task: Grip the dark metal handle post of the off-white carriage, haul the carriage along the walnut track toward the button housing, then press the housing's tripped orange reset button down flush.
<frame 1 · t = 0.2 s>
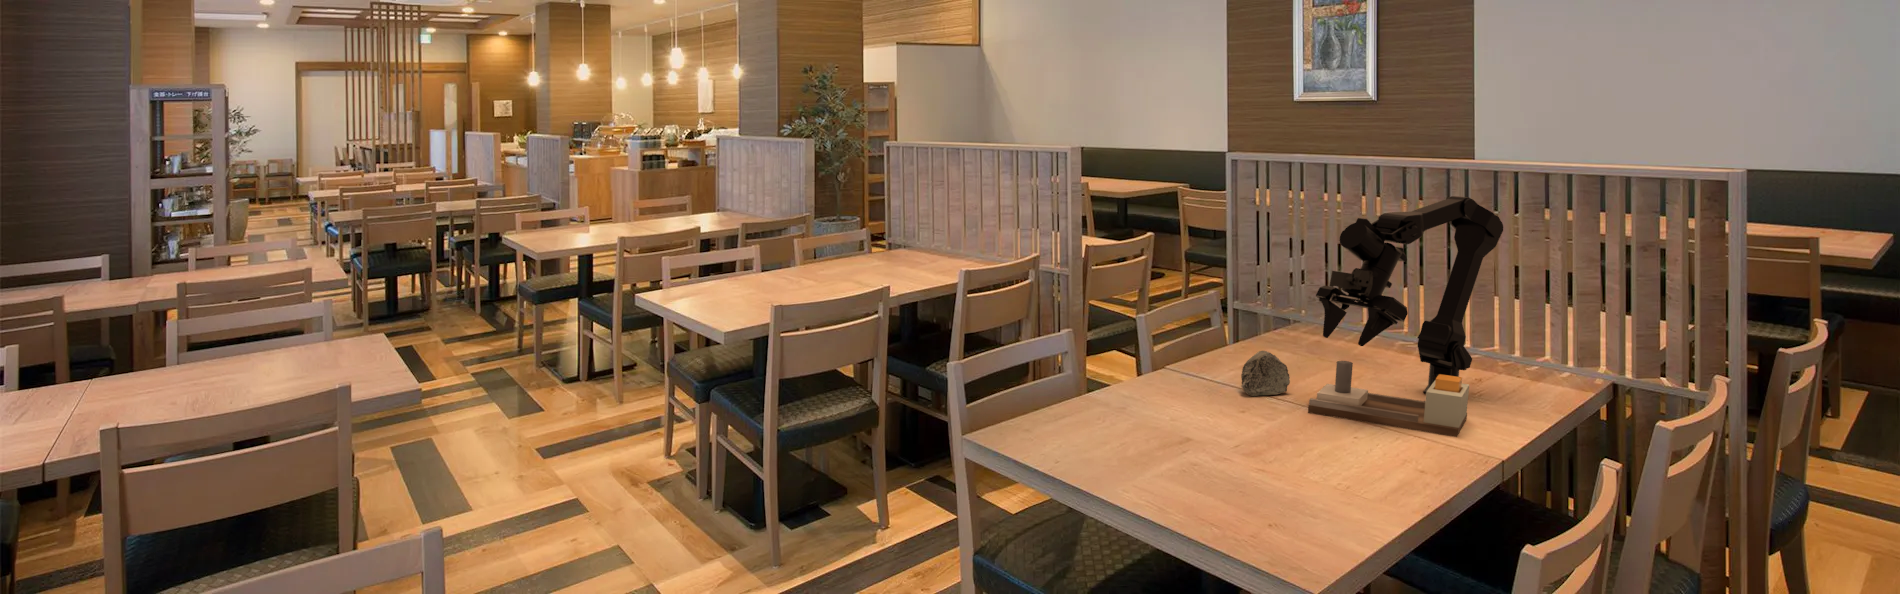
hand: (1342, 341, 193), 15 cm above the table, tool tilted 30°, fingers open, 9 cm apart
track: (1386, 416, 193), on the table
stone: (1263, 392, 211), on the table
reset button: (1447, 390, 186), point 7 cm above the table, slide at 0.0 cm
carriage: (1343, 381, 197), point 6 cm above the table, slide at 0.0 cm
button housing: (1444, 425, 187), resting on track
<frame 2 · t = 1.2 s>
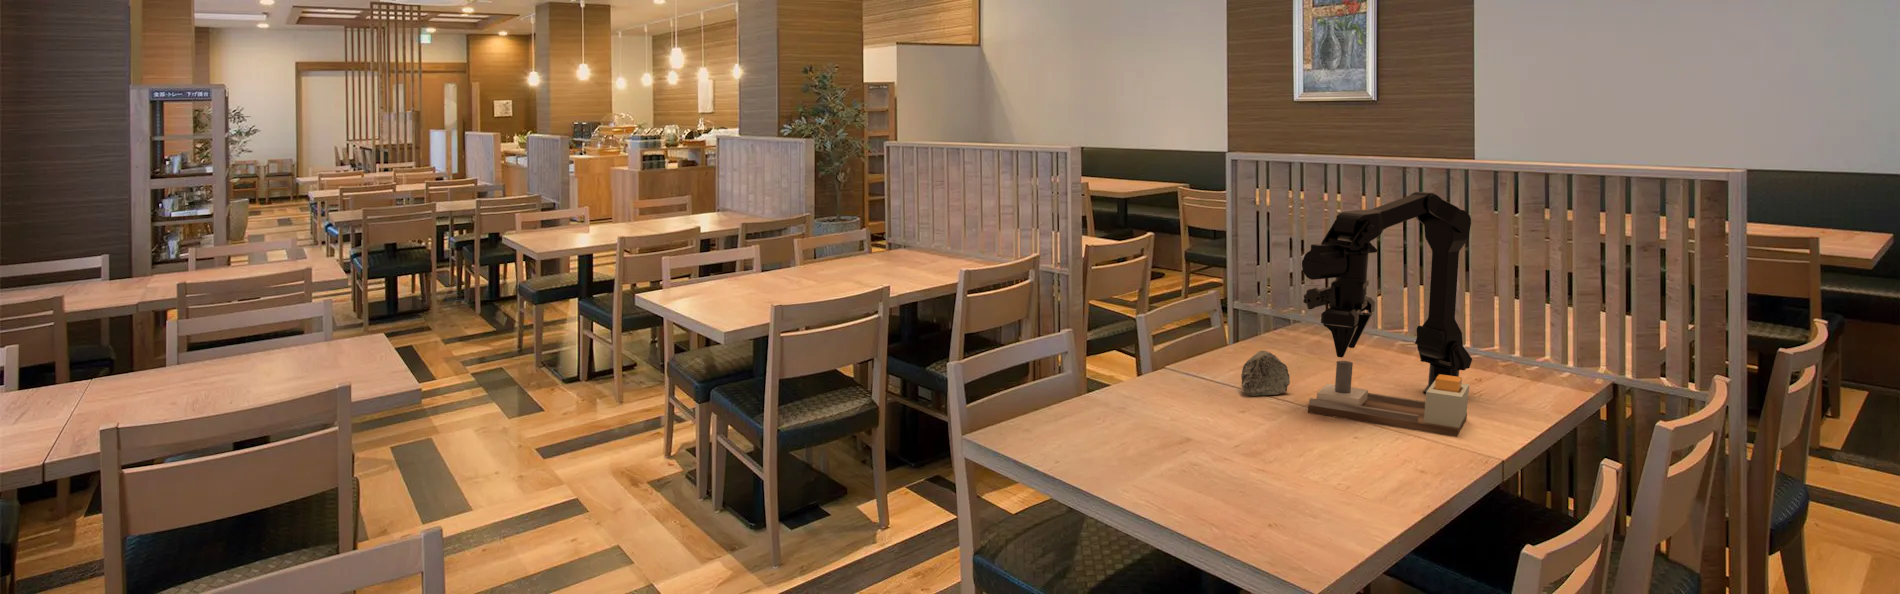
hand: (1345, 352, 196), 12 cm above the table, tool pointing down, fingers open, 9 cm apart
nothing on the table moved.
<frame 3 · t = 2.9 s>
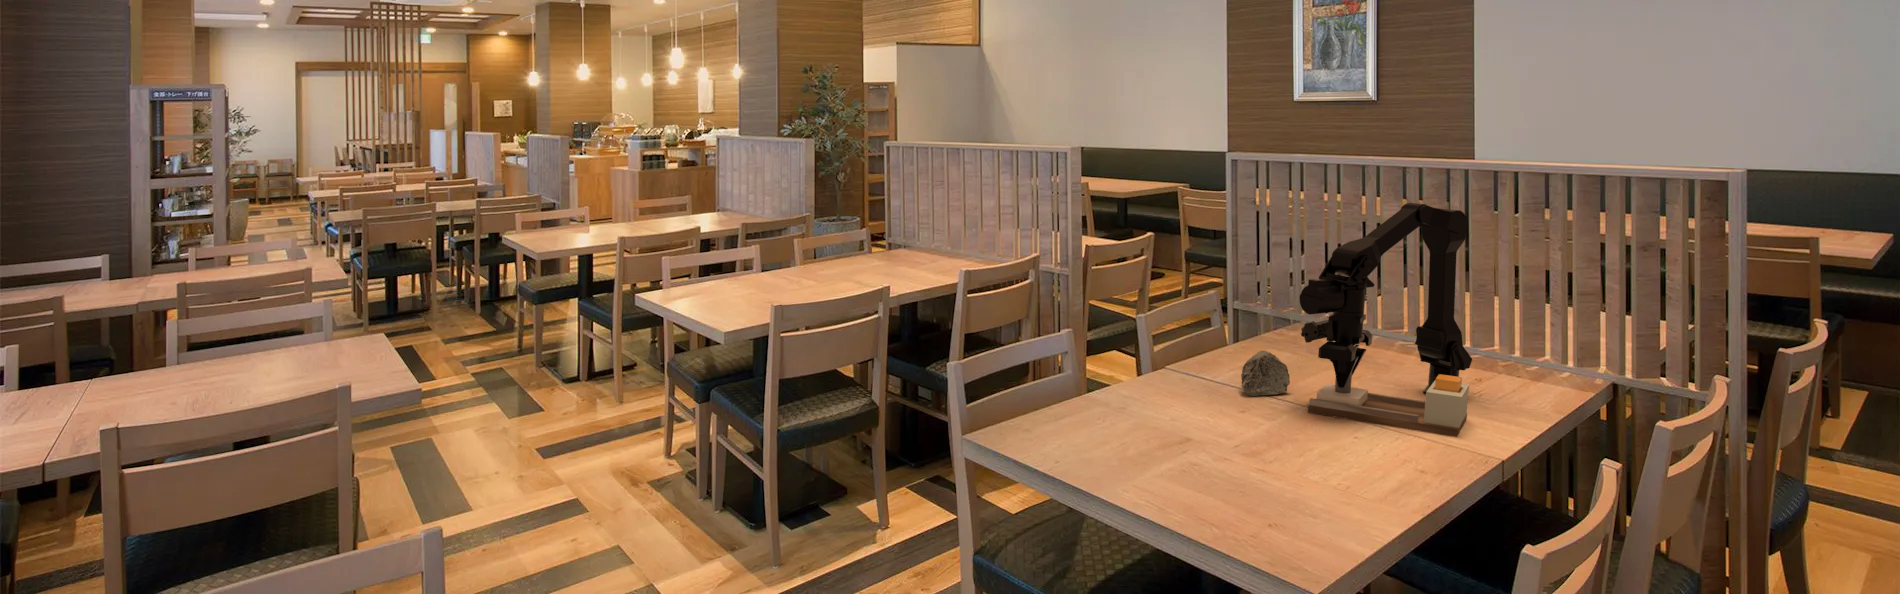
hand: (1343, 385, 197), 5 cm above the table, tool pointing down, fingers closed on carriage, 3 cm apart
carriage: (1343, 381, 197), point 6 cm above the table, slide at 0.0 cm, touching gripper
everything else where it was.
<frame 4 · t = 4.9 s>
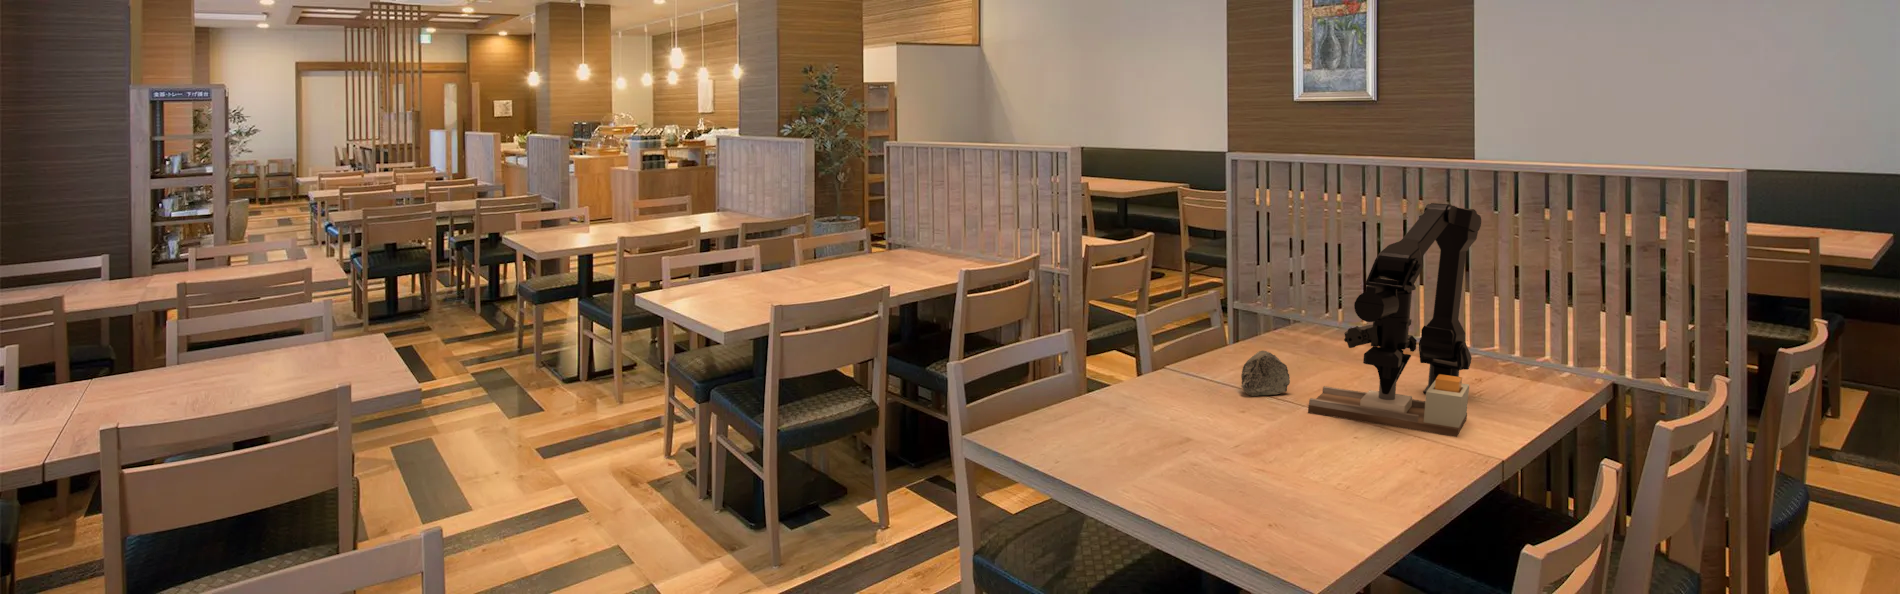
hand: (1387, 391, 192), 5 cm above the table, tool pointing down, fingers closed on carriage, 3 cm apart
carriage: (1387, 388, 192), point 6 cm above the table, slide at 8.3 cm, touching gripper
everything else where it was.
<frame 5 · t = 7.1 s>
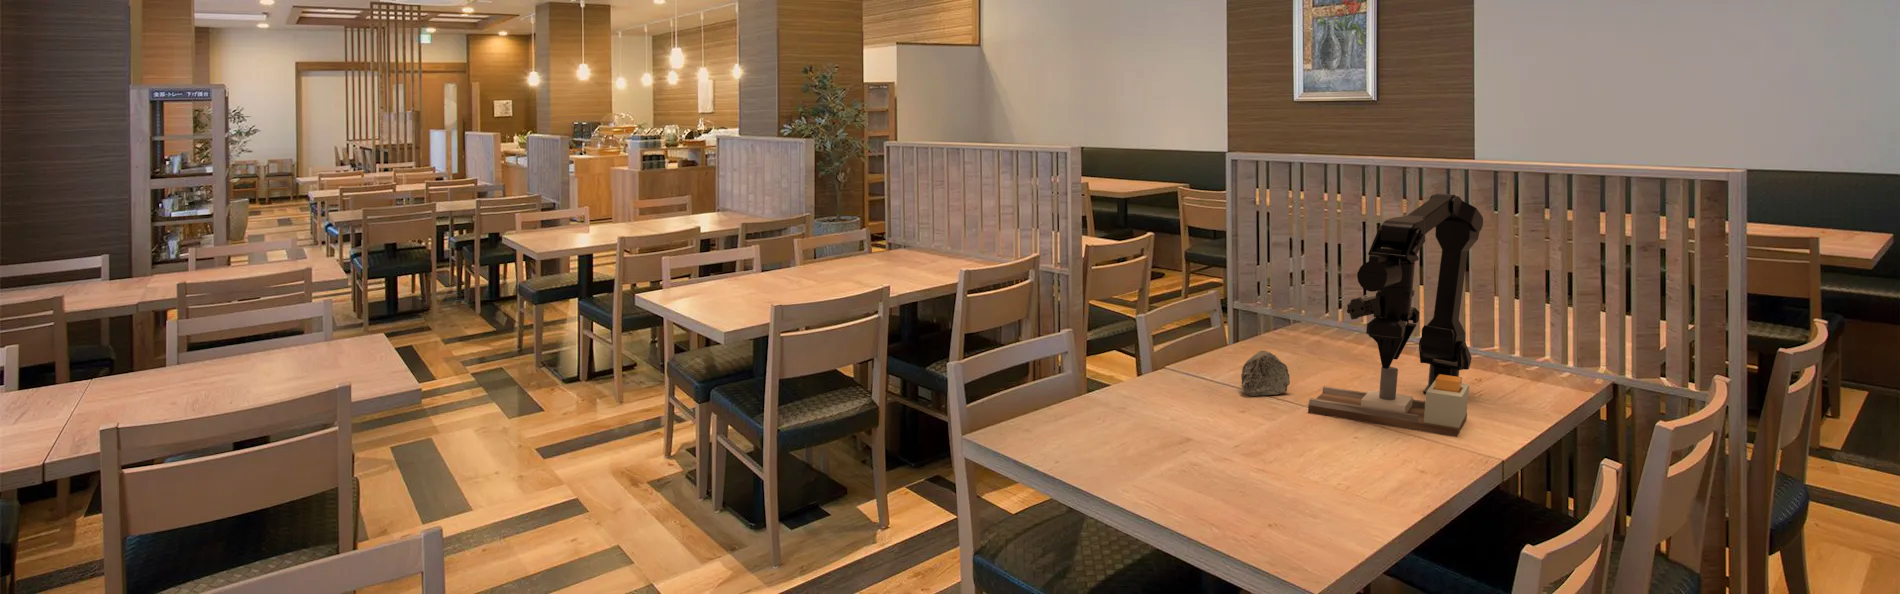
hand: (1390, 363, 191), 11 cm above the table, tool pointing down, fingers open, 8 cm apart
carriage: (1388, 388, 192), point 6 cm above the table, slide at 8.4 cm
everything else where it was.
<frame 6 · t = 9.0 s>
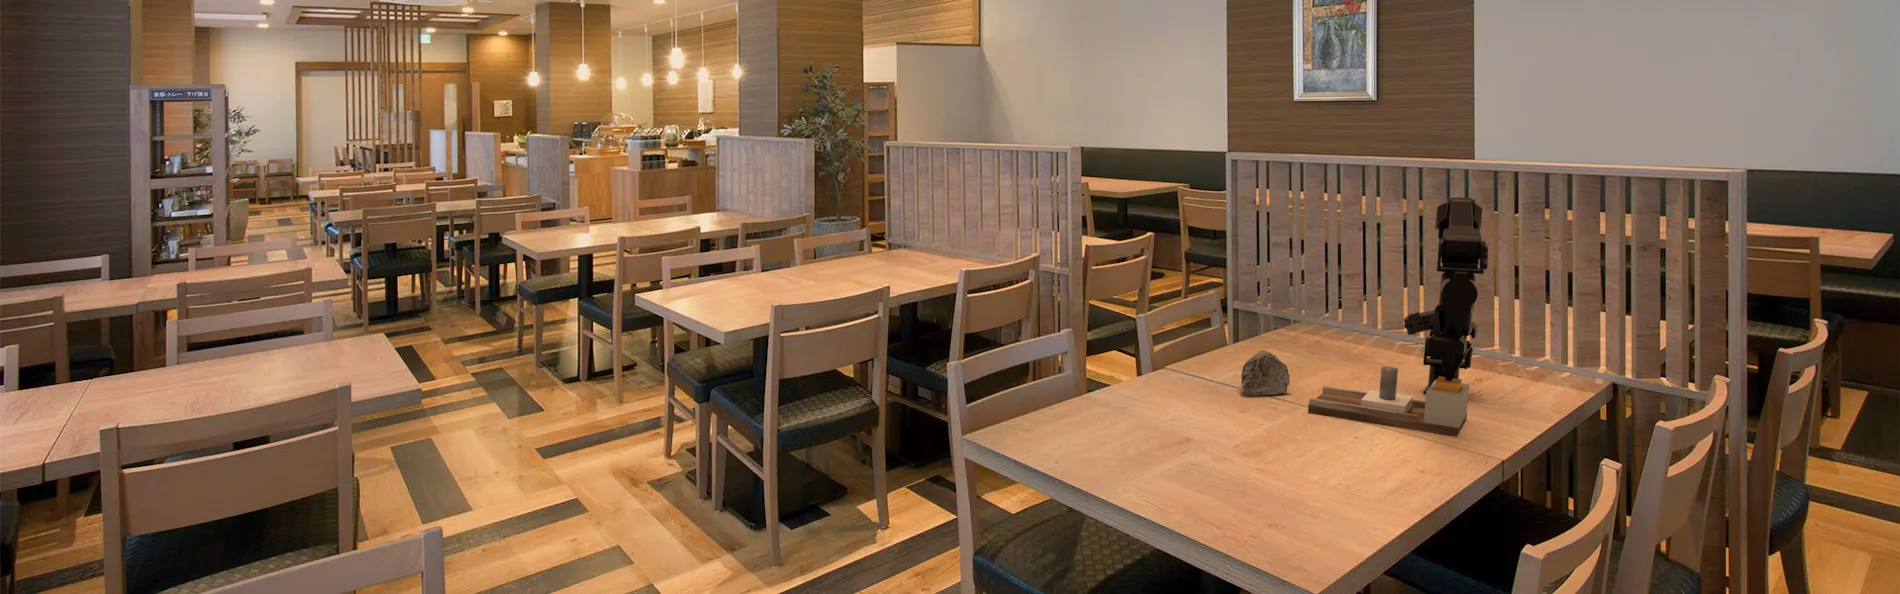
hand: (1448, 380, 186), 9 cm above the table, tool pointing down, fingers closed, pressing on reset button
reset button: (1447, 392, 186), point 7 cm above the table, slide at 0.5 cm, touching gripper
everything else where it was.
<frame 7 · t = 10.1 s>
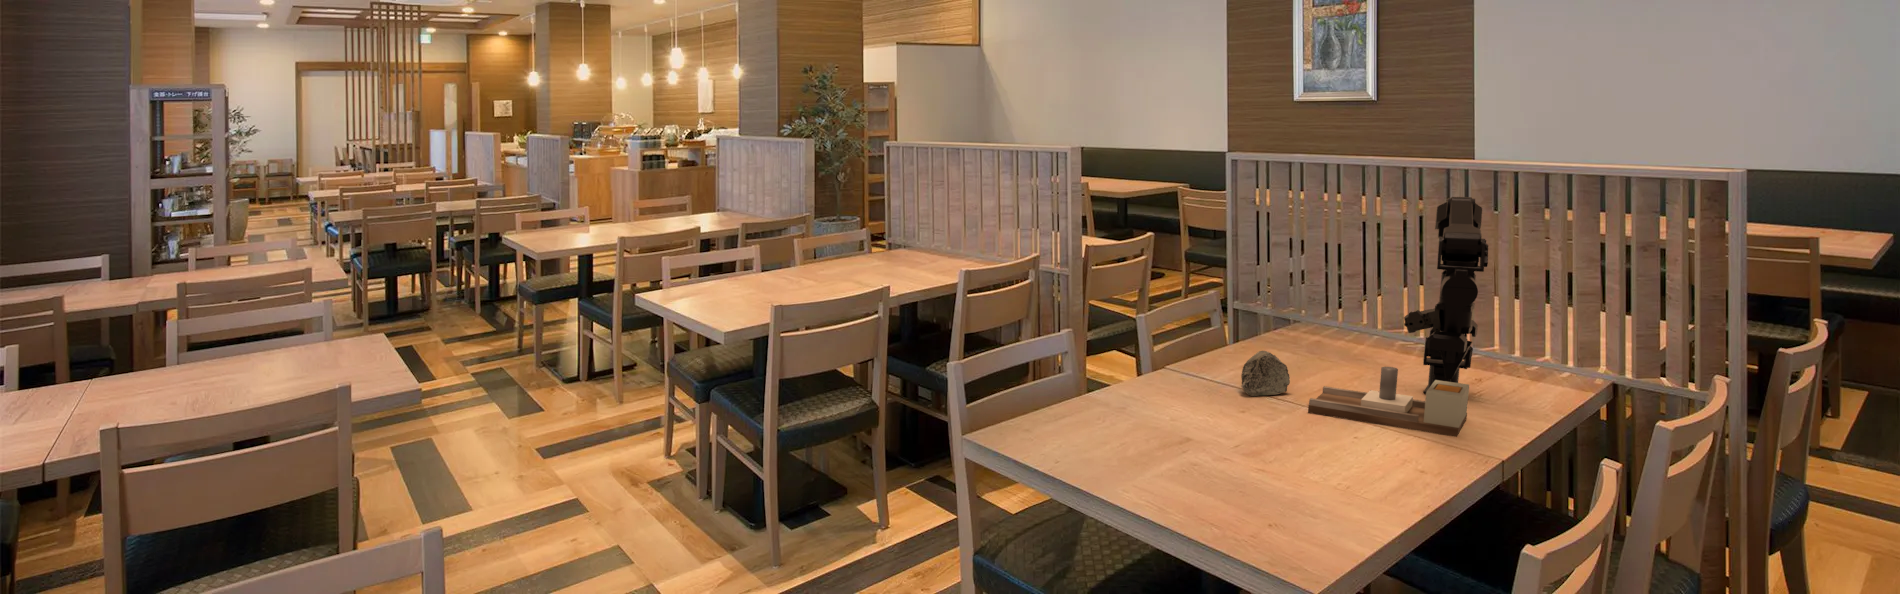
hand: (1448, 378, 185), 9 cm above the table, tool pointing down, fingers closed
reset button: (1446, 400, 186), point 5 cm above the table, slide at 2.0 cm
everything else where it was.
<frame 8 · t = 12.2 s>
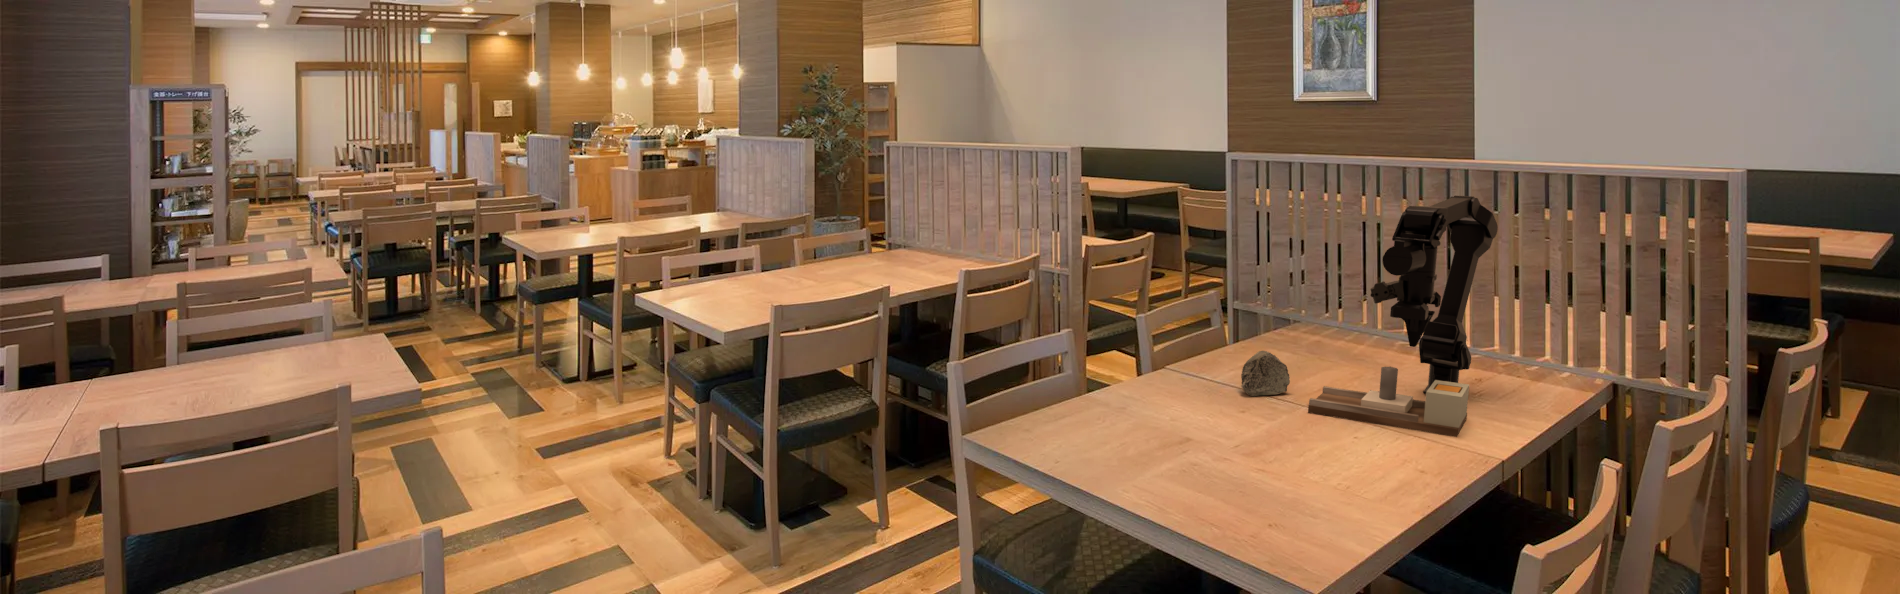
hand: (1412, 346, 196), 13 cm above the table, tool pointing down, fingers closed
nothing on the table moved.
at the end: carriage slide at 8.4 cm; reset button slide at 2.0 cm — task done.
